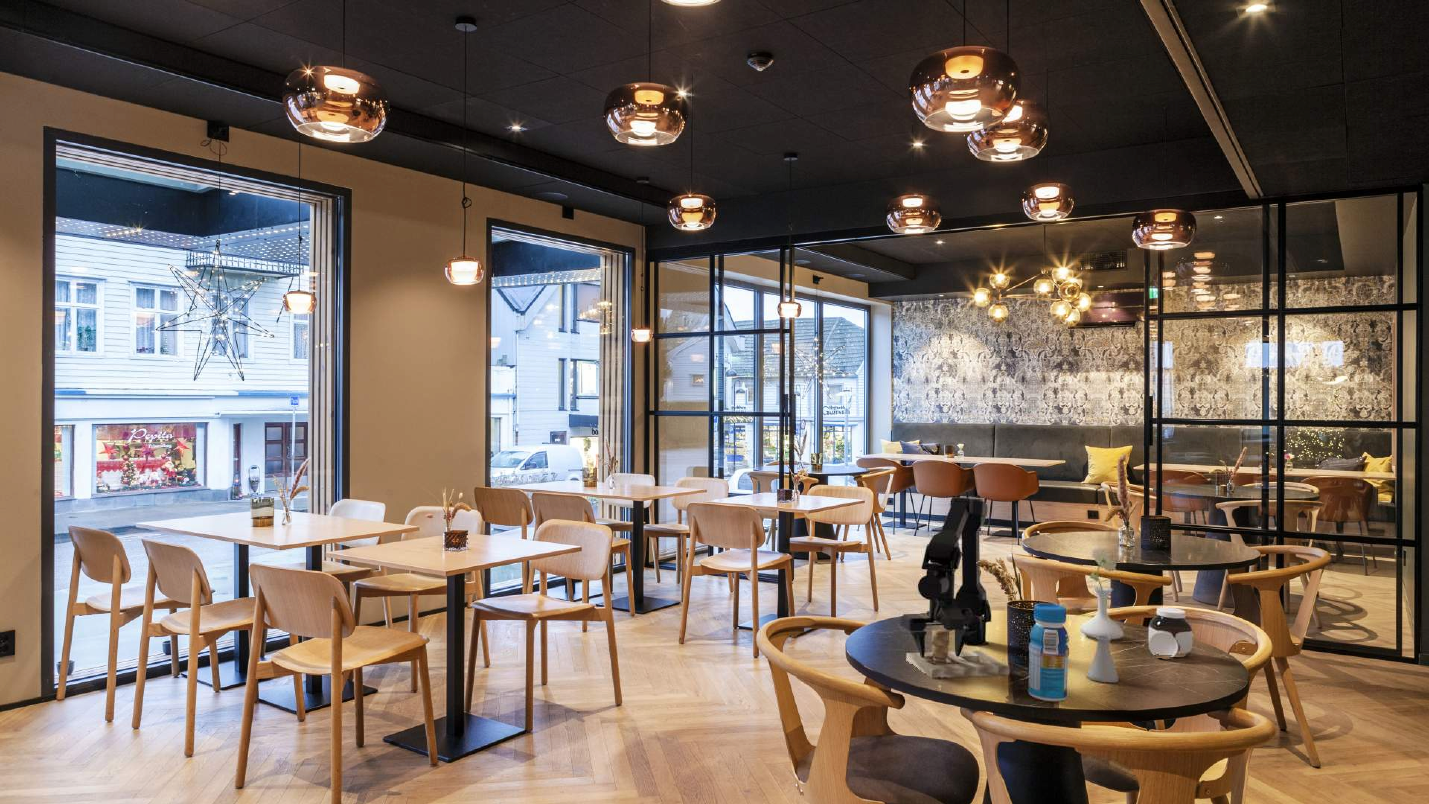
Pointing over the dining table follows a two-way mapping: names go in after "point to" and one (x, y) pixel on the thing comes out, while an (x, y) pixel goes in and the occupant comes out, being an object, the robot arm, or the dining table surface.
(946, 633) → the peg
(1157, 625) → the spread jar
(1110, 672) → the flask
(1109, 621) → the flower in vase
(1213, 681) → the dining table surface
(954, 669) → the board
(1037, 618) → the beverage bottle
